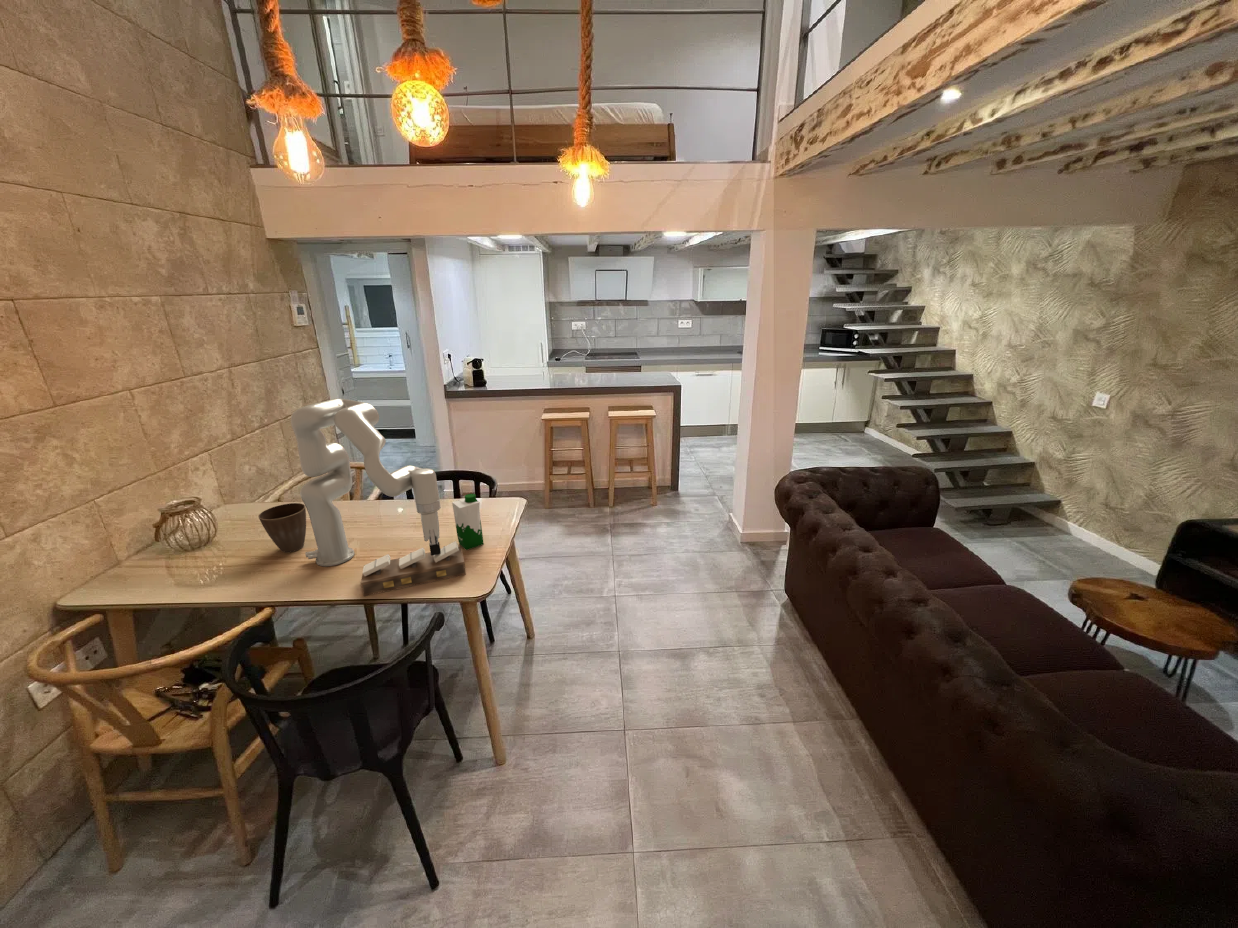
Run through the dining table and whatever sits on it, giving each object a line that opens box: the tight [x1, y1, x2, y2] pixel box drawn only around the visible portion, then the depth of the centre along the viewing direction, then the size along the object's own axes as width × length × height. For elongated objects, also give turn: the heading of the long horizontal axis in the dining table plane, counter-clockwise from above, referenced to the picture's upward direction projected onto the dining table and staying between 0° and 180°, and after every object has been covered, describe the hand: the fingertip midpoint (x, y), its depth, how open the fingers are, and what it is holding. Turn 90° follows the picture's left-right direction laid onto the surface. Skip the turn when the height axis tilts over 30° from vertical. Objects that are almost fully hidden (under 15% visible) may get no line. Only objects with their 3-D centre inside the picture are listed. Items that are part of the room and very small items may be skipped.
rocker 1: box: [362, 553, 391, 576], centre depth 161 cm, size 8×5×2 cm, turn 112°
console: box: [360, 545, 467, 597], centre depth 166 cm, size 32×12×6 cm, turn 112°
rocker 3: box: [434, 540, 459, 562], centre depth 169 cm, size 8×5×2 cm, turn 112°
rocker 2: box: [399, 547, 426, 569], centre depth 165 cm, size 8×5×2 cm, turn 112°
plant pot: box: [257, 502, 307, 554], centre depth 186 cm, size 15×15×16 cm
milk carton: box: [451, 493, 485, 551], centre depth 185 cm, size 9×9×20 cm
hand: (435, 553), depth 167 cm, fingers closed
